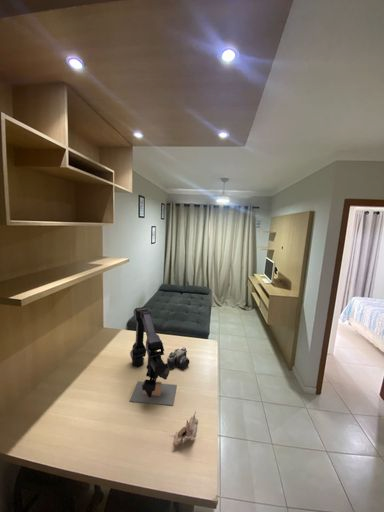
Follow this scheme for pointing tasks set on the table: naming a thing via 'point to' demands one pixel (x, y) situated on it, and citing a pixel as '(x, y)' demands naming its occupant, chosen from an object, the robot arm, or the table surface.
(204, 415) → the table surface
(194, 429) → the bone fragment
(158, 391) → the block
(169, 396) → the mat
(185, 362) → the camera
